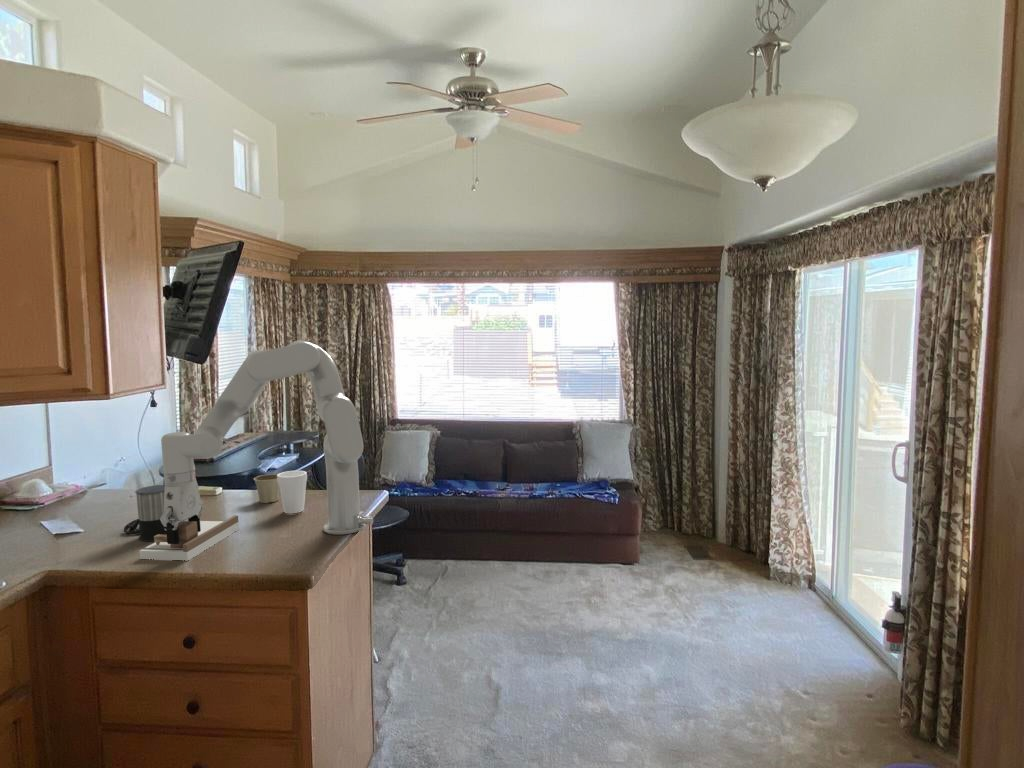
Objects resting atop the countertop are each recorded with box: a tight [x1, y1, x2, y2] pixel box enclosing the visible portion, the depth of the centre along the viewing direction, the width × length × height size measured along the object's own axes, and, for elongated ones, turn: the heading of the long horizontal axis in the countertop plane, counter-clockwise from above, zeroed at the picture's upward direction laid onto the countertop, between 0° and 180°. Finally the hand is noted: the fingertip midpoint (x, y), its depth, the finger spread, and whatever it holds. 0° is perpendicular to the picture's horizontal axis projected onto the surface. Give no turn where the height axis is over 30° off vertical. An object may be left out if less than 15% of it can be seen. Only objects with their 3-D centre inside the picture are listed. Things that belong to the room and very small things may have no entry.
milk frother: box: [123, 484, 173, 542], centre depth 199 cm, size 14×16×15 cm
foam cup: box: [277, 470, 308, 514], centre depth 220 cm, size 10×9×13 cm
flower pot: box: [253, 473, 280, 504], centre depth 234 cm, size 9×9×9 cm
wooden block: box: [153, 520, 198, 548], centre depth 182 cm, size 11×5×6 cm, turn 83°
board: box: [139, 514, 240, 562], centre depth 190 cm, size 14×26×4 cm, turn 173°
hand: (184, 537), depth 182 cm, fingers open, 9 cm apart
